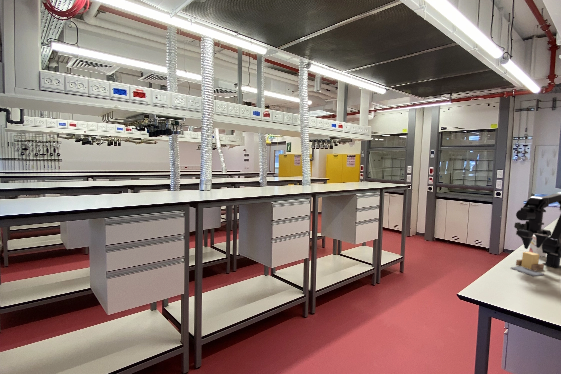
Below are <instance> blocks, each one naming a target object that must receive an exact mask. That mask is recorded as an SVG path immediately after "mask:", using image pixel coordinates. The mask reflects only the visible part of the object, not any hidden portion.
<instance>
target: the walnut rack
mask: <svg viewBox="0 0 561 374" xmlns="http://www.w3.org/2000/svg"><path fill="white" fill-rule="evenodd" d="M521 264H522V258H521V259H516V261H515V266H516V267H519V266H521ZM544 268H545V265H544V264H542V263H538V264H533V265H532V266H531V270H534V271H542V270H544Z"/></svg>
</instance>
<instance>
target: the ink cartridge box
mask: <svg viewBox="0 0 561 374" xmlns="http://www.w3.org/2000/svg"><path fill="white" fill-rule="evenodd" d="M546 236H547V235H546ZM532 238H533V239H532V241H531V243H530V245H529V248H528V250H529V251H528V252H532V253H536V254H539V257H540V256H545V257H544V258H546V257H547V254H546V253H543V251H542V245H541V246H540V247H539V248H537V247H536V236H535V235H533V236H532Z"/></svg>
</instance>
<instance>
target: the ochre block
mask: <svg viewBox="0 0 561 374" xmlns="http://www.w3.org/2000/svg"><path fill="white" fill-rule="evenodd" d="M521 259H522V264H521V265H520V266H522V267H525V268H528V269H531V266H532V265H533V264H539V261H540V256H539V254H536V253H532V252H529V251H523V252H522V257H521Z"/></svg>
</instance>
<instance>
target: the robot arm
mask: <svg viewBox="0 0 561 374" xmlns="http://www.w3.org/2000/svg"><path fill="white" fill-rule="evenodd" d="M554 203H558V205H559V210H560V212H561V191H559V192H558V191H557V192H556V193H553V194H547V195H544V196H537V195H536V196H535V195H532V196H530V197H529V198H528V199H527V200H526V202H525V204H524V205H523V206H522V207H520V209H519V210H517V211H516V213H515V216H516V219H517V220H519V221H525V223H521V222H515V223H514V226H513V227H514V228H515V229H516V232H515V235H516V236H518V237H519V238H520V239H521V241H522V243H523V247H524V249H526V250H529V248H530V243H531V241H532V239H533V238H532V236H533V235H535V236H536V247H537V248H539V247H540V246H541V245H542V251H543V253H546V257H545V262H542V263H541V264H544V266H548V267H551V268H555V269H559V268H561V213H560V214H559V217H558V218H557V222H556V223H555V225H554V228H553V231H551V230H549V229H545V228H542V226H544V225H545V222H543V219H544V213H546V212H547V211H546V209H545V208H548V207H549V206H550V205H551V204H554ZM546 235H547V236H546Z"/></svg>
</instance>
